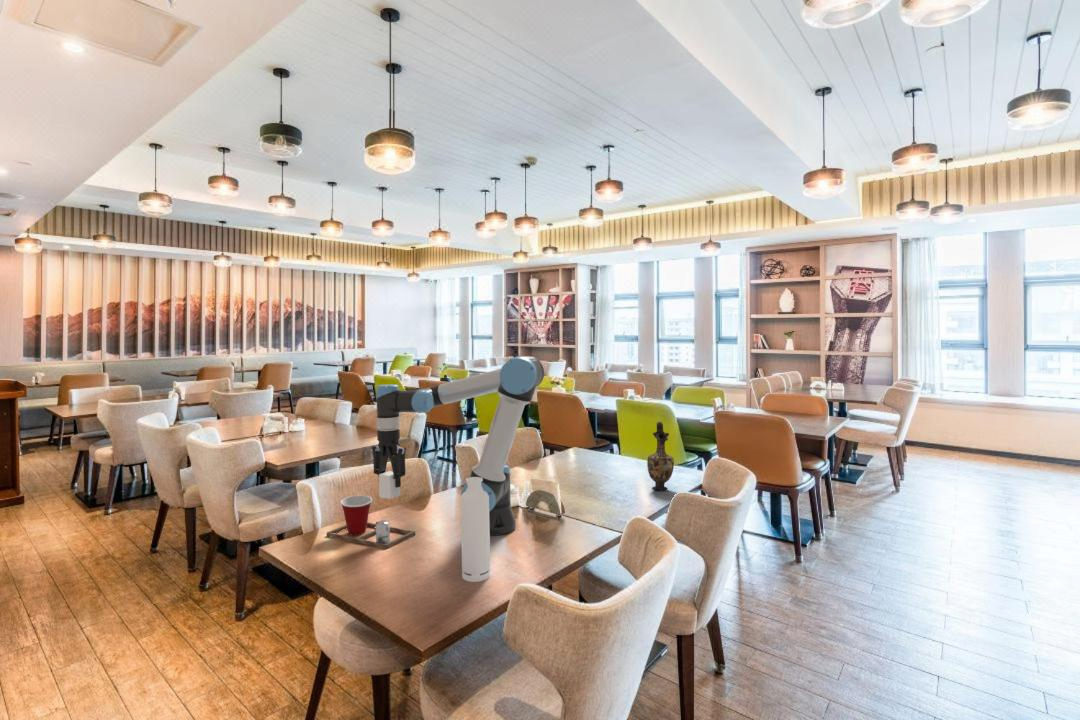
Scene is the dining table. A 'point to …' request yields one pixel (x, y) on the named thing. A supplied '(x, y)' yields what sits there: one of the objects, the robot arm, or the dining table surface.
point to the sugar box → (386, 485)
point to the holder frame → (362, 538)
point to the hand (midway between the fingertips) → (389, 495)
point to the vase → (660, 461)
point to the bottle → (475, 531)
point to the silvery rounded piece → (383, 531)
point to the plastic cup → (356, 513)
